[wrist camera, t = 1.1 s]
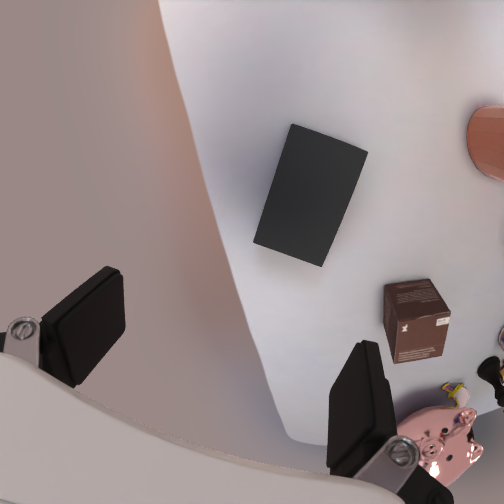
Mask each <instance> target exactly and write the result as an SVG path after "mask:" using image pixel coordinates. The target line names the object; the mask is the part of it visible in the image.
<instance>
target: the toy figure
mask: <svg viewBox="0 0 504 504" xmlns="http://www.w3.org/2000/svg"><path fill="white" fill-rule="evenodd" d="M503 363H504V362H503ZM500 381H501V383H502V384H503V383H504V368H503V369H502V370H501V371H500Z"/></svg>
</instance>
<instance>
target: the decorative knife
mask: <svg viewBox="0 0 504 504" xmlns="http://www.w3.org/2000/svg"><path fill="white" fill-rule="evenodd" d="M449 384H450V383H447V384H445V385H444V386H443V387H442V390H446V391H448V392H450V393H449V394H448V395H447V397H448V396H449V397H448V399H450V398H451V397H453V400H456V403H457V405H456V407H459V408H464V407H465V405H466V404H467V402H468V400H469V391H468V390H467V389H466V388H463V386H464V384H461V385H460V384H459V385H460V386H459V385H457V386H456V387H455V388H454V389H453V388H451V387H450V386H449ZM458 387H459V388H458Z"/></svg>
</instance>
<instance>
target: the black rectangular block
mask: <svg viewBox="0 0 504 504" xmlns="http://www.w3.org/2000/svg"><path fill="white" fill-rule="evenodd" d="M367 154H368V152H367V151H365V150H362V149H360V148H358V147H355V146H353V145H350V144H348V143H345V142H343V141H340V140H337V139H335V138H332V137H329V136H327V135H324V134H321V133H319V132H316V131H313V130H310V129H307V128H304V127H301V126H298V125H295V124H291V126H290V129H289V132H288V136H287V139H286V142H285V145H284V148H283V151H282V154H281V157H280V160H279V163H278V166H277V169H276V173H275V176H274V179H273V182H272V185H271V188H270V191H269V194H268V197H267V200H266V203H265V206H264V210H263V213H262V216H261V219H260V222H259V225H258V228H257V231H256V234H255V237H254V241H253V243H256V244H258V245H261V246H264V247H267V248H270V249H272V250H275V251H278V252H281V253H284V254H286V255H289V256H292V257H295V258H297V259H300V260H303V261H306V262H309V263H311V264H314V265H317V266H320V267H322V265H323V263H324V261H325V259H326V256H327V254H328V252H329V249H330V247H331V245H332V242H333V240H334V238H335V235H336V233H337V231H338V228H339V226H340V224H341V221H342V219H343V216H344V214H345V211H346V209H347V206H348V204H349V201H350V199H351V196H352V194H353V191H354V189H355V186H356V184H357V181H358V178H359V176H360V173H361V170H362V168H363V165H364V162H365V160H366V157H367Z"/></svg>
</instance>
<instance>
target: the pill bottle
mask: <svg viewBox="0 0 504 504" xmlns="http://www.w3.org/2000/svg"><path fill="white" fill-rule="evenodd" d="M499 343H500V346H501V347H502V349H503V351H504V327H503V329H502V331H501V333H500V336H499Z"/></svg>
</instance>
